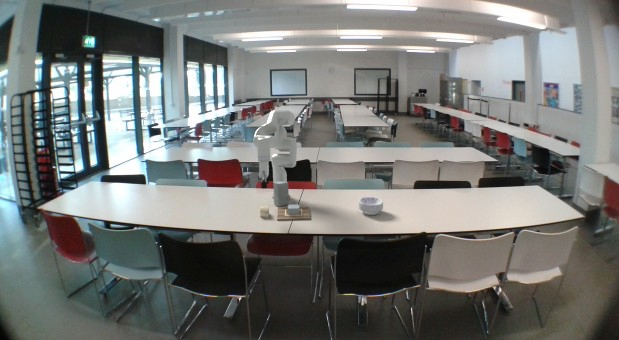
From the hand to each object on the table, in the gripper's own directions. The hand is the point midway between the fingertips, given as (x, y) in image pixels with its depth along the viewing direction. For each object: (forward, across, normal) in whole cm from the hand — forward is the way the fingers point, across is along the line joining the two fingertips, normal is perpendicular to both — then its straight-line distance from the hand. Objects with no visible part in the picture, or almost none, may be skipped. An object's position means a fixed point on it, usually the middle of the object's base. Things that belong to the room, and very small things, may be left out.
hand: (265, 185), depth 212 cm
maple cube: (+20, -2, -1) cm, 20 cm away
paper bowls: (+20, -4, +66) cm, 69 cm away
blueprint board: (+20, -3, +17) cm, 26 cm away
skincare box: (+20, -21, +8) cm, 30 cm away
